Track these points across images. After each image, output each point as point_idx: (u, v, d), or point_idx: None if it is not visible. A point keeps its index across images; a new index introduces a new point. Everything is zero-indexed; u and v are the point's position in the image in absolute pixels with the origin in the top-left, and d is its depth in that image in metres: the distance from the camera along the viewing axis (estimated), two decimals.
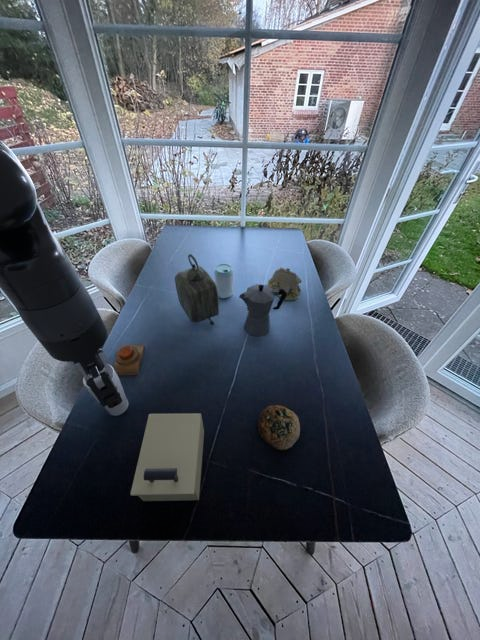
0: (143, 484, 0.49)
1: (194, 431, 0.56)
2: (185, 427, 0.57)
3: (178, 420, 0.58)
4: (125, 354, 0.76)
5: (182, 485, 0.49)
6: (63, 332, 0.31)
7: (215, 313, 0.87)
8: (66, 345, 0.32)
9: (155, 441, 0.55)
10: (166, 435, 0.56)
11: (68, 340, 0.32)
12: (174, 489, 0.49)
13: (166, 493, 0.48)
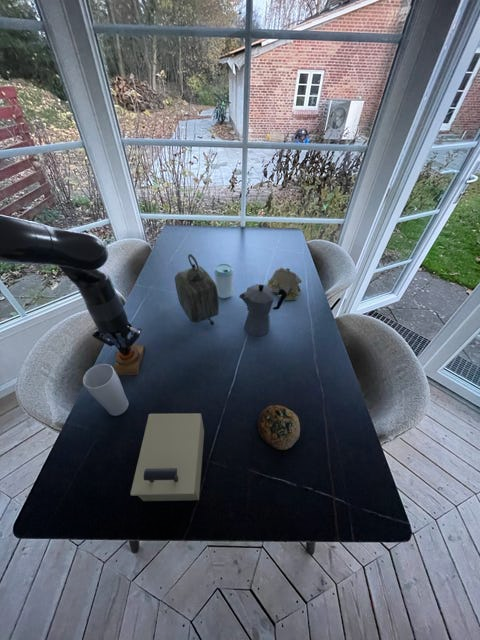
0: (143, 484, 0.49)
1: (194, 431, 0.56)
2: (185, 427, 0.57)
3: (178, 420, 0.58)
4: (126, 356, 0.77)
5: (182, 485, 0.49)
6: (119, 308, 0.64)
7: (215, 313, 0.87)
8: (121, 316, 0.66)
9: (155, 441, 0.55)
10: (166, 435, 0.56)
11: (121, 312, 0.65)
12: (174, 489, 0.49)
13: (166, 493, 0.48)
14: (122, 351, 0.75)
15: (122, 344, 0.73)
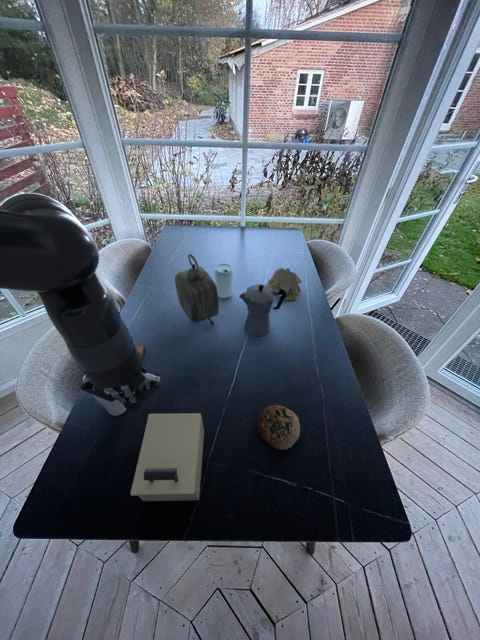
0: (143, 484, 0.49)
1: (194, 431, 0.56)
2: (185, 427, 0.57)
3: (178, 420, 0.58)
4: None
5: (182, 485, 0.49)
6: (128, 347, 0.36)
7: (215, 313, 0.87)
8: (130, 359, 0.37)
9: (155, 441, 0.55)
10: (166, 435, 0.56)
11: (131, 353, 0.37)
12: (174, 489, 0.49)
13: (166, 493, 0.48)
14: (130, 407, 0.47)
15: (130, 399, 0.45)
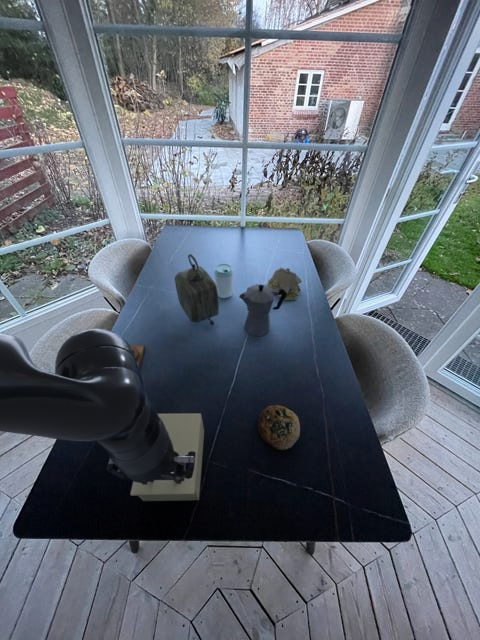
0: None
1: (194, 431, 0.56)
2: (185, 427, 0.57)
3: (178, 420, 0.58)
4: None
5: (182, 485, 0.49)
6: (165, 446, 0.36)
7: (215, 313, 0.87)
8: (167, 455, 0.37)
9: None
10: None
11: (167, 449, 0.37)
12: (174, 489, 0.49)
13: (166, 493, 0.48)
14: None
15: (176, 477, 0.45)
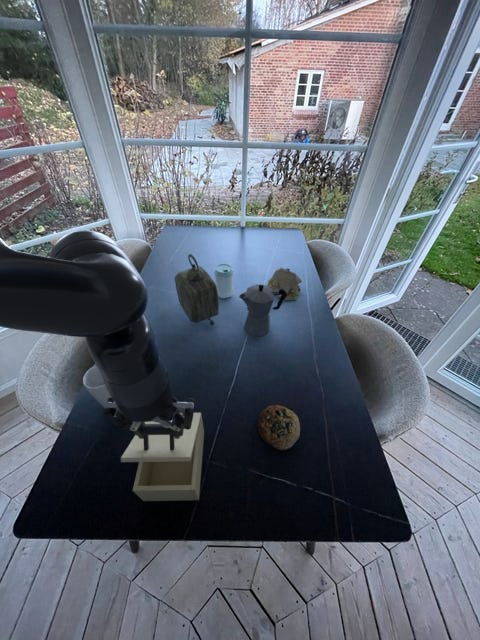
0: (136, 451, 0.46)
1: (193, 421, 0.56)
2: None
3: None
4: None
5: (179, 452, 0.46)
6: (164, 381, 0.35)
7: (215, 313, 0.87)
8: (165, 393, 0.36)
9: None
10: None
11: (166, 387, 0.36)
12: (169, 454, 0.45)
13: (160, 457, 0.44)
14: (140, 434, 0.45)
15: (175, 427, 0.43)
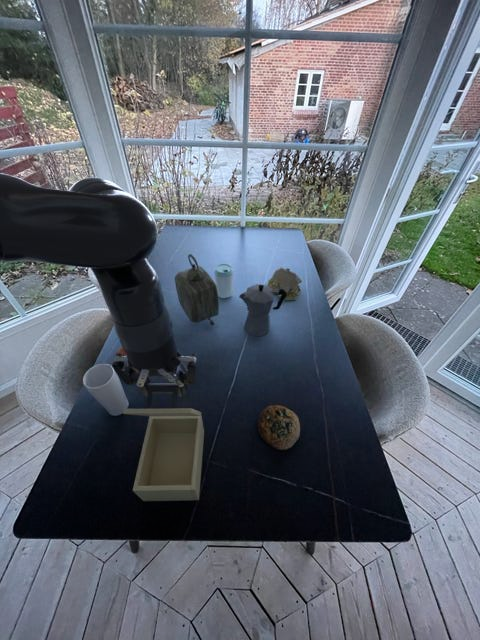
0: None
1: None
2: None
3: None
4: (125, 354, 0.76)
5: None
6: (169, 330, 0.38)
7: (215, 313, 0.87)
8: (170, 342, 0.39)
9: None
10: None
11: (171, 336, 0.39)
12: (171, 408, 0.46)
13: None
14: (146, 391, 0.48)
15: (178, 382, 0.46)
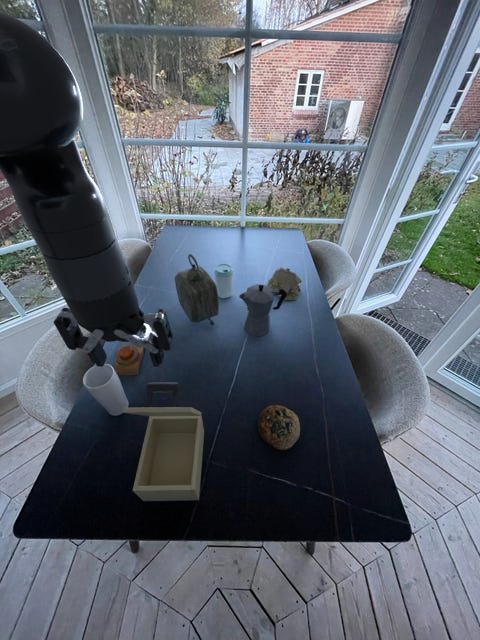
0: None
1: None
2: None
3: None
4: (125, 354, 0.76)
5: None
6: (123, 274, 0.29)
7: (215, 313, 0.87)
8: (126, 292, 0.31)
9: None
10: None
11: (127, 284, 0.30)
12: None
13: (162, 407, 0.45)
14: (96, 360, 0.39)
15: (152, 347, 0.37)
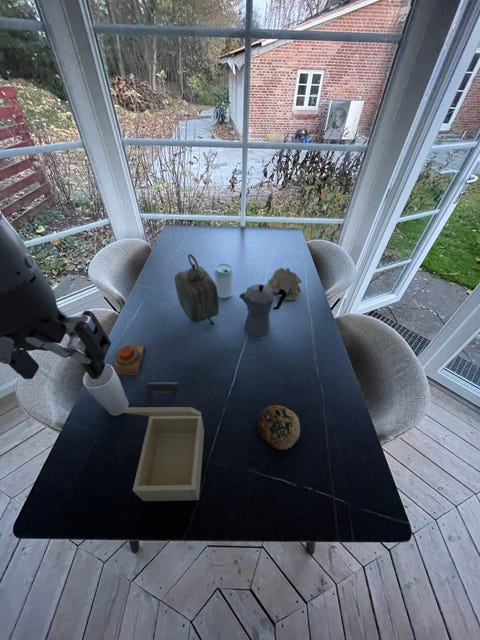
0: None
1: None
2: None
3: None
4: (125, 354, 0.76)
5: None
6: (18, 267, 0.23)
7: (215, 313, 0.87)
8: (27, 291, 0.24)
9: None
10: None
11: (27, 280, 0.24)
12: None
13: (162, 407, 0.45)
14: (21, 371, 0.33)
15: (81, 356, 0.31)
